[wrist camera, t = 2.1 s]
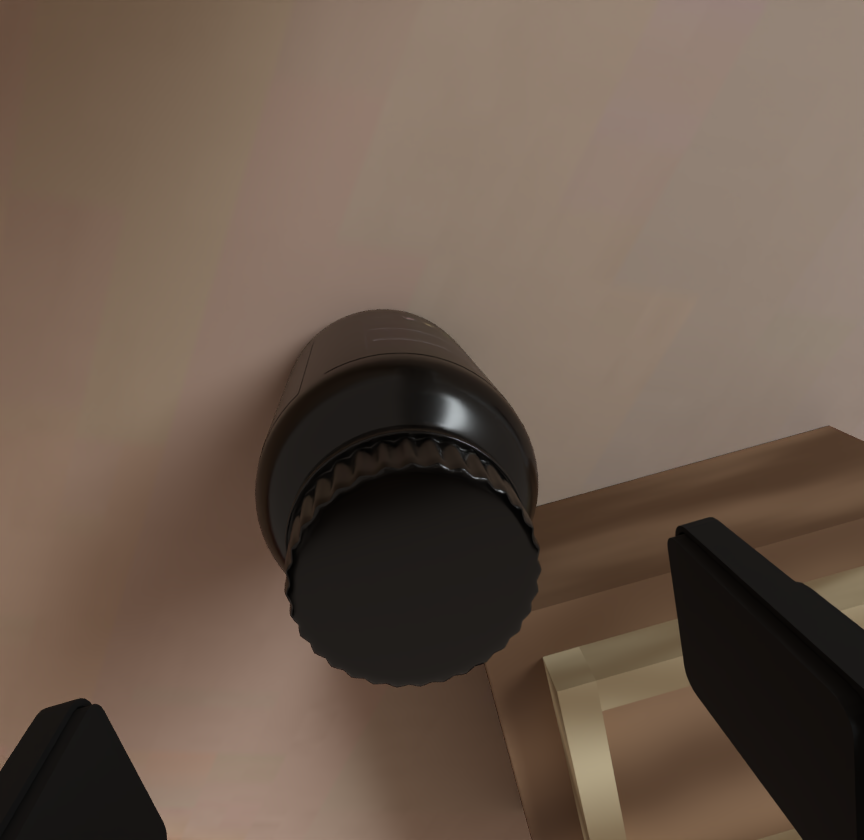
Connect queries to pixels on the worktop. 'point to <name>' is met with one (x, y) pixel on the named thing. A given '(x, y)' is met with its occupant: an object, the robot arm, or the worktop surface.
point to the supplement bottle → (399, 502)
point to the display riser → (661, 642)
